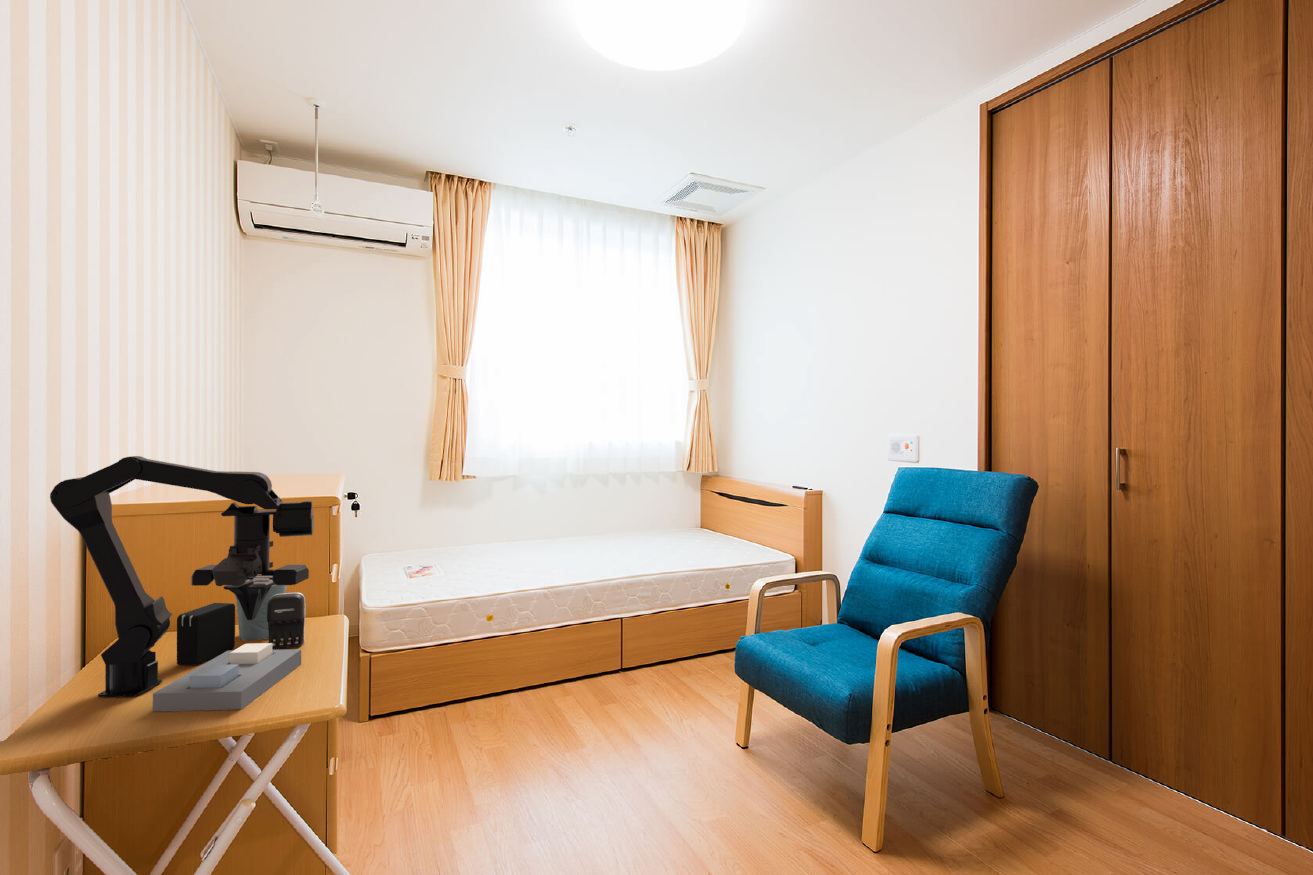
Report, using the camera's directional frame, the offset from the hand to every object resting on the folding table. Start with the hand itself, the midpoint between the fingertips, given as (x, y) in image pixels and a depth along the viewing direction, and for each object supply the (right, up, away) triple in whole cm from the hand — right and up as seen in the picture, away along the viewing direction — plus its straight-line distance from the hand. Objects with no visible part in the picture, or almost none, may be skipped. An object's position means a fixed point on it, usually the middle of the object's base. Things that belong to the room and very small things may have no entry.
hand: (251, 619), depth 117 cm
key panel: (0, -11, -5) cm, 12 cm away
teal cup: (-13, -10, +23) cm, 28 cm away
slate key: (+1, -8, -11) cm, 13 cm away
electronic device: (-15, -11, +8) cm, 20 cm away
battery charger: (-2, -11, +14) cm, 18 cm away
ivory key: (0, -8, 0) cm, 8 cm away
